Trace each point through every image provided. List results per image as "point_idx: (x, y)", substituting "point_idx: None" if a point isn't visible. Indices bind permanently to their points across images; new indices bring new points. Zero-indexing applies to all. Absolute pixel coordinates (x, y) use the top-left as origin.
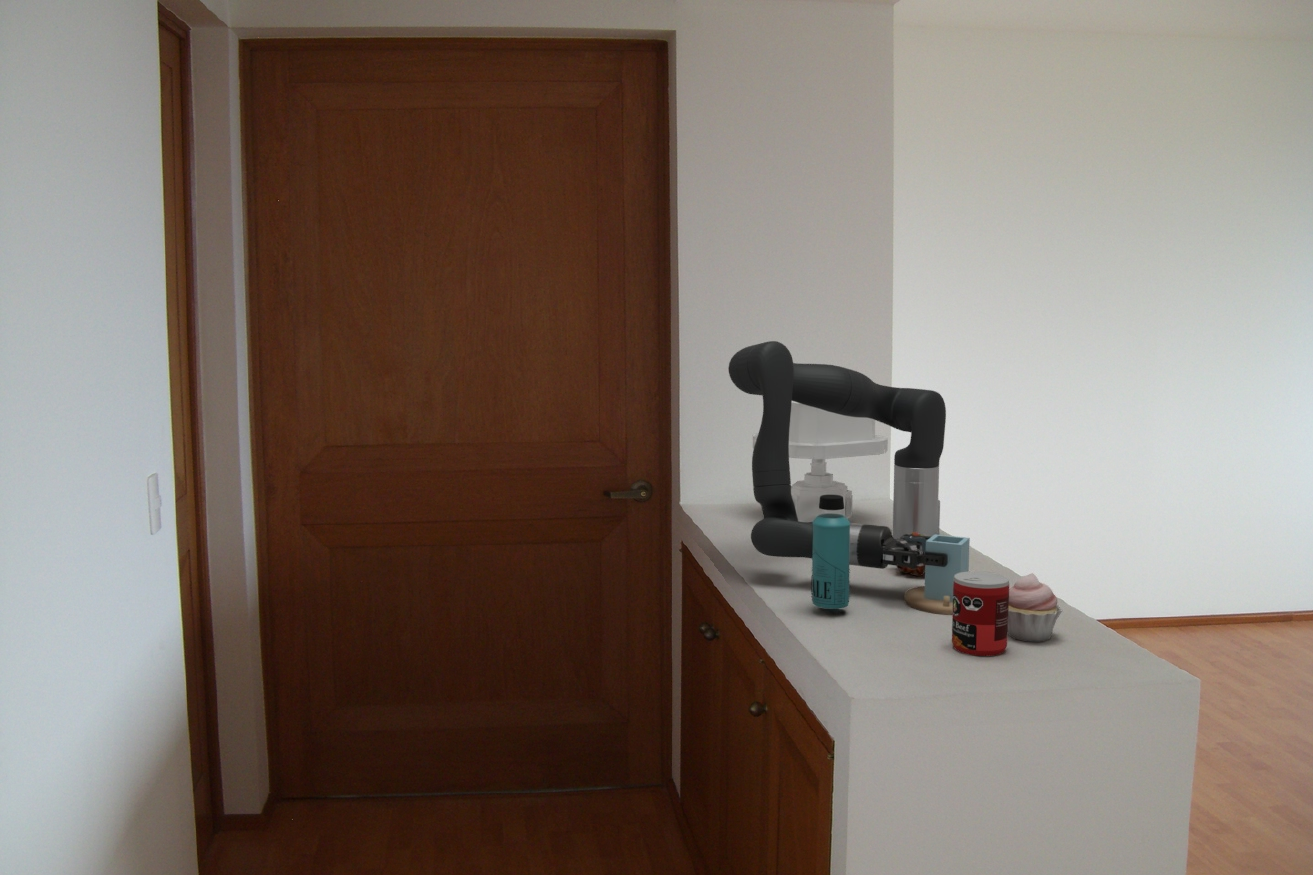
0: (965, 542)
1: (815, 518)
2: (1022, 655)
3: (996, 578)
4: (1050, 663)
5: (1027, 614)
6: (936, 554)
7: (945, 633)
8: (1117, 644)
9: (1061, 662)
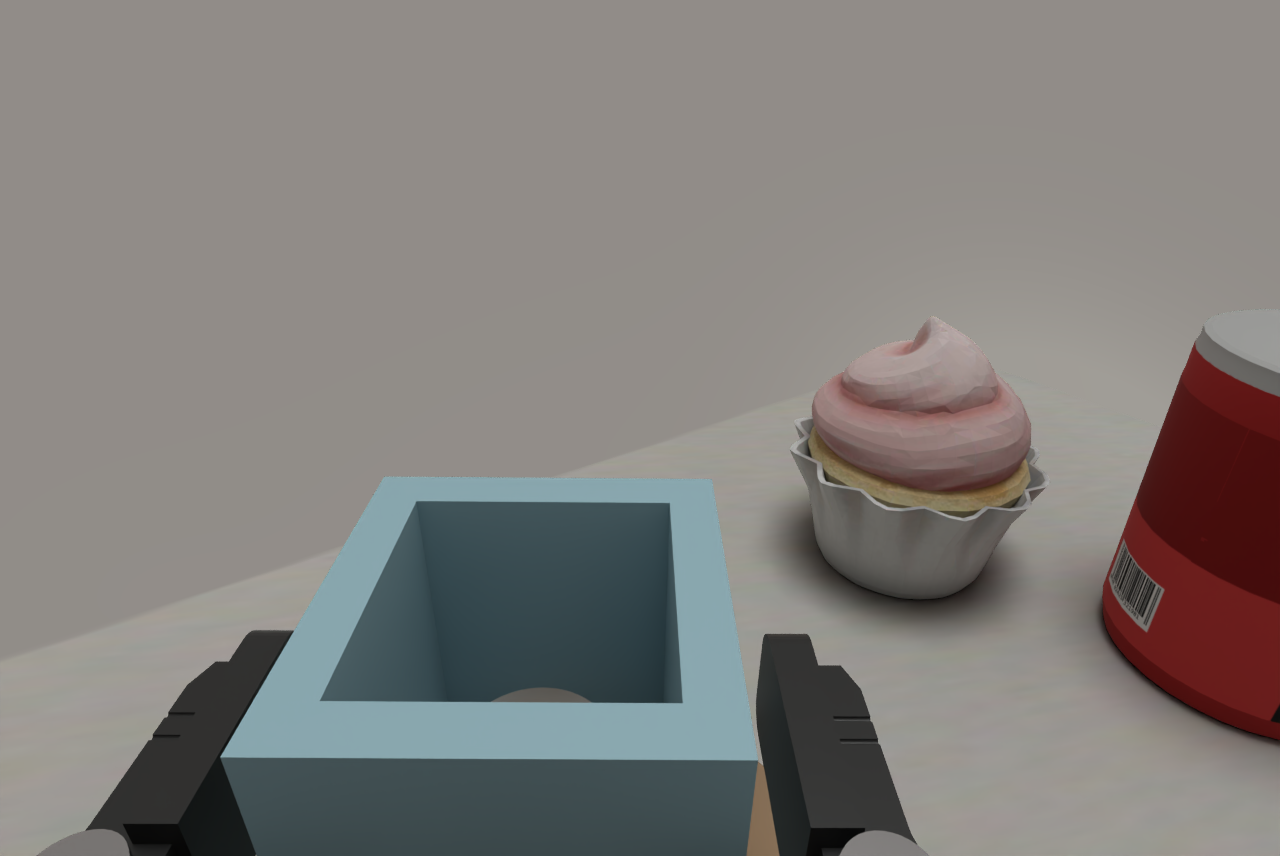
0: (556, 485)
1: None
2: None
3: (1254, 341)
4: (1108, 489)
5: (1030, 446)
6: (827, 711)
7: (1202, 824)
8: (789, 414)
9: (1069, 474)
